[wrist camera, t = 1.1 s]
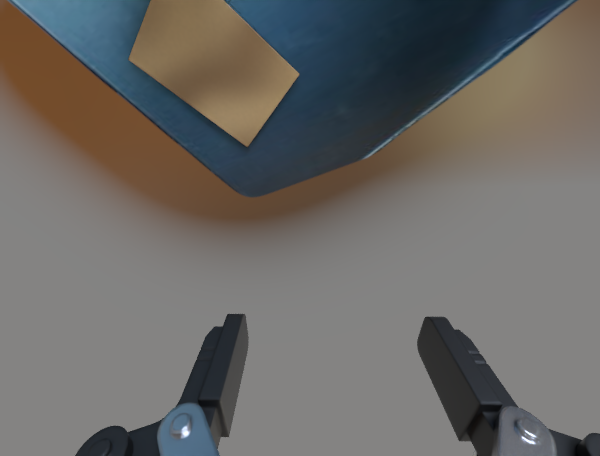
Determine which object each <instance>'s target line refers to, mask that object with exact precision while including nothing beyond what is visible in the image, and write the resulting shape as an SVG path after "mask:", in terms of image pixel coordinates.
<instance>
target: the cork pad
mask: <svg viewBox="0 0 600 456" xmlns="http://www.w3.org/2000/svg"><path fill="white" fill-rule="evenodd" d="M128 60H129V61H131V62H132V63H134V64H135V65H136V66H138V67H139V68H140V69H142V70H143V71H144V72H146V73H147V74H148V75H150V76H151V77H153V78H154V79H155V80H157V81H158V82H159V83H161V84H162V85H163V86H165V87H166V88H167V89H169V90H170V91H172V92H173V93H174V94H176V95H177V96H178V97H180V98H181V99H182V100H184V101H185V102H187V103H188V104H189V105H191V106H192V107H193V108H195V109H196V110H197V111H199V112H200V113H201V114H203V115H204V116H206V117H207V118H208V119H210V120H211V121H212V122H214V123H215V124H216V125H218V126H219V127H220V128H222V129H223V130H225V131H226V132H227V133H229V134H230V135H231V136H233V137H234V138H235V139H237V140H238V141H239V142H241V143H242V144H244V145H245V146H246V147H248V146H249V144H250V143H251V142H252V140H253V139H254V137H255V136H256V135H257V133H258V132H259V130H260V129H261V128H262V126H263V125H264V123H265V122H266V121H267V119H268V118H269V116H270V115H271V114H272V112H273V111H274V109H275V108H276V107H277V105H278V104H279V102H280V101H281V100H282V98H283V97H284V95H285V94H286V93H287V91H288V90H289V88H290V87H291V86H292V84H293V83H294V81H295V80H296V79H297V77H298V76H299V73H298V72H297V71H296V70H295V69H294V68H293V67H292V66H291V65H290V64H289V63H288V62H287V61H286V60H285V59H284V58H283V57H282V56H280V55H279V54H278V53H277V52H276V51H275V50H274V49H273V48H272V47H271V46H270V45H269V44H268V43H267V42H266V41H265V40H264V39H263V38H262V37H261V36H260V35H259V34H258V33H257V32H256V31H255V30H254V29H253V28H252V27H251V26H250V25H249V24H248V23H247V22H246V21H245V20H244V19H243V18H241V17H240V16H239V15H238V14H237V13H236V12H235V11H234V10H233V9H232V8H231V7H230V6H229V5H228V4H227V3H226V2H225V1H224V0H151V1H150V3H149V6H148V9H147V11H146V14H145V17H144V19H143V22H142V25H141V27H140V30H139V33H138V35H137V38H136V40H135V43H134V46H133V48H132V51H131V54H130V56H129V59H128Z"/></svg>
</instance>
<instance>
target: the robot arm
mask: <svg viewBox="0 0 600 456" xmlns="http://www.w3.org/2000/svg"><path fill="white" fill-rule="evenodd" d="M417 346H418V351H419V354H420V357H421V359H422V361H423V363H424V365H425V368H426V369H427V372H428V374H429V376H430V379H431V380H432V383H433V385H434V387H435V389H436V392H437V394H438V396H439V398H440V400H441V403H442V405H443V407H444V409H445V411H446V413H447V416H448V418H449V420H450V422H451V424H452V427H453V429H454V431H455V433H456V435H457V437H458V440H459V441H471V442H472V444H473V446H474V448H475V451H474V454H473V456H600V434H598V433H591V434H589V435H588V436H586V437H585V438H584V439H583V440H580V439H577V438H574V437H571V436H568V435H565V434H562V433H559V432H556V431H553V430H550V429H548V428H546V426H545V425H544V424H543V423H542V422H541V421H540V420H538V419H537V418H536V417H535V416H533V415H532V414H531V413H529V412H527V411H525V410H523V409H521V408H519V407H518V406H517V405H516V404H515V402H514V401H513V399H512V398H511V396H510V395H509V394H508V392H507V391H506V390H505V388H504V386H503V385H502V384H501V382H500V381H499V379H498V378H497V376H496V375H495V374H494V372H493V371H492V369H491V368H490V366H489V365H488V364H486V361H485V359H484V358H483V356H482V355H481V354H479V351H478V349H477V348H476V346H475V345H474V344H473V342H472V341H471V340H470V339H469V338H468V337H467V336H466V335H465V334H463V333H462V332H461V331H460V330H454V329H453V327H452V326H451V324H450V322H449V321H448V320H447V319H446V318H445V317H425V319H424V321H423V324H422V328H421V331H420V334H419V337H418V341H417ZM247 351H248V331H247V324H246V316H245V314H228V315H227V317H226V320H225V322H224V325H223V327H214V328H213V329H212V330H211V331H210V332H209V333H208V335H207V336H206V337H205V340H204V342H203V345H202V347H201V350H200V352H199V355H198V357H197V360H196V362H195V364H194V367H193V369H192V372H191V374H190V377H189V379H188V382H187V384H186V386H185V389H184V392H183V394H182V397H181V399H180V401H179V402H178V404H177V406H176V407H175V408H174V409H172V410H171V411H170V412H169V413H168V414H167V415H166V416H165V417H164V418H163V419H162V420H160V421H158V422H156V423H154V424H151V425H148V426H145V427H142V428H139V429H136V430H133V431H130V432H127V431H126V430H125V429H124V428H123V427H120V426H110V427H107V428H105V429H102V430H100V431H99V432H97V433H96V434H94V435H93V436H92V437H90V438H89V439H88V440H87V441H86V442H85V443H84V444H83V446H82V447H81V448H80V449H79V451H78V452H77V454H76V455H75V456H220V455H219V452H218V450H217V449H218V445H219V441H220V437H229V434H230V429H231V424H232V420H233V415H234V411H235V406H236V402H237V397H238V393H239V388H240V383H241V378H242V374H243V370H244V365H245V360H246V356H247Z"/></svg>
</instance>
